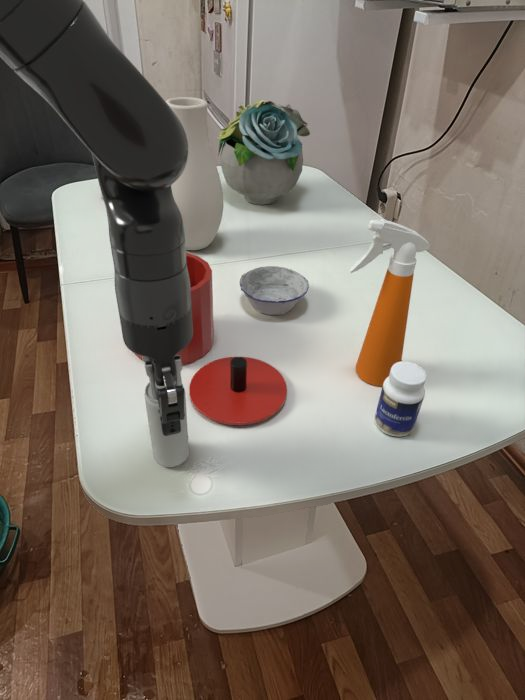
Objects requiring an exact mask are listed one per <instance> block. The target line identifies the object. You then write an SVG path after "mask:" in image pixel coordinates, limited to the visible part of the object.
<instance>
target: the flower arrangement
mask: <svg viewBox="0 0 525 700" xmlns="http://www.w3.org/2000/svg"><path fill="white" fill-rule="evenodd" d="M238 109H239V111H236V112H235V113H236V115H235V118H234V119H233V120H232V121H229V122H228V125H227V126H226V127H224V128H221V129H220V130H221V131H220V132H219V137H216V139H217V140H219V144H218V153H217V154H218V155H217V156H218V157H219V155H220V166H221V171H222V175H223V178H224V180H225V183H226V184H227V185H228V186H229V187H230V188H232V189H233V190H234V191H235V192H237V193H238V194H239V195H243V197H244V199H245V201H247V202H248V203H251V204H252V205H253V204H254V205H263V206H264V205H270V204H273V203H275V202H276V200H277V199H278V197H280V196H282V195H285V194H286V193H289V191H291V190H292V189H294V188H295V186H296V185H297V183H298V181H299V178H300V177H301V175H302V172H303V166H304V153H303V143H302V141H301V139H300V137H308V136H310V135H311V132H310V129H309V128H308V127H307V126H308V125H309V124H308V122H306V121H304V119H303V117H302V115H301V114H300V112H299V110H297V109H295V108H294V109H293V108H292V106H291V104H290V103H289V104H287V105H285V104H280V103H279V104H278V103H276V102H275V101H273V100H268V101H266V100H265V99H261V100H259V101H256V102H255V103H252V104H251V105H250V104H248V105H247V106H245V107H244V104H243V102H241V103H240V106H238ZM299 136H300V137H299Z"/></svg>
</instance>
